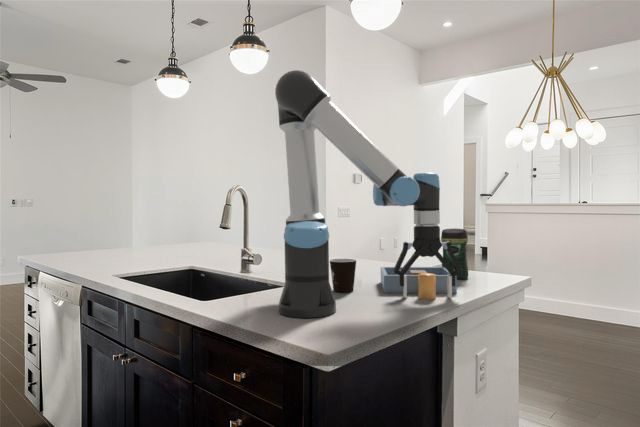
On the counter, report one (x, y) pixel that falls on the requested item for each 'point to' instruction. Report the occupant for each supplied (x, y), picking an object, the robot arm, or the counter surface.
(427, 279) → the orange cylinder
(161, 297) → the counter surface
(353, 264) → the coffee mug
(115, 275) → the counter surface
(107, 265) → the counter surface
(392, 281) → the tote
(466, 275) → the coffee jar
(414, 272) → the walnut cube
